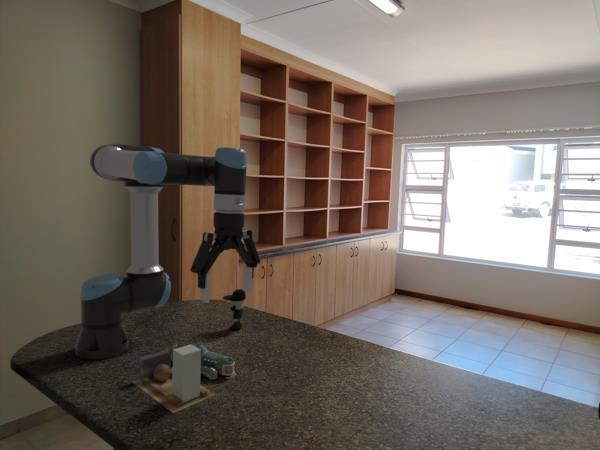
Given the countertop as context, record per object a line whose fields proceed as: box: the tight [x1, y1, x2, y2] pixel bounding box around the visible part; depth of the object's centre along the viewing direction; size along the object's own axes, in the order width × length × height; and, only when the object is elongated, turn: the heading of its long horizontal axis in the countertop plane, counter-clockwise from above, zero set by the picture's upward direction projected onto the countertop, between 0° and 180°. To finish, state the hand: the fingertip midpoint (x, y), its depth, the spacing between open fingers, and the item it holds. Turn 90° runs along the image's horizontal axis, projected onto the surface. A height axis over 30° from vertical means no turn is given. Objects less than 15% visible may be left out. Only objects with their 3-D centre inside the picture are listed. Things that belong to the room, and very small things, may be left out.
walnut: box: [153, 364, 171, 381], centre depth 108 cm, size 4×4×4 cm
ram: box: [171, 343, 201, 403], centre depth 100 cm, size 5×5×12 cm
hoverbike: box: [164, 341, 237, 381], centre depth 117 cm, size 10×25×8 cm, turn 67°
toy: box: [222, 288, 247, 331], centre depth 151 cm, size 8×8×15 cm
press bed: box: [132, 349, 217, 414], centre depth 104 cm, size 20×12×7 cm, turn 48°
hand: (226, 296), depth 102 cm, fingers open, 13 cm apart
